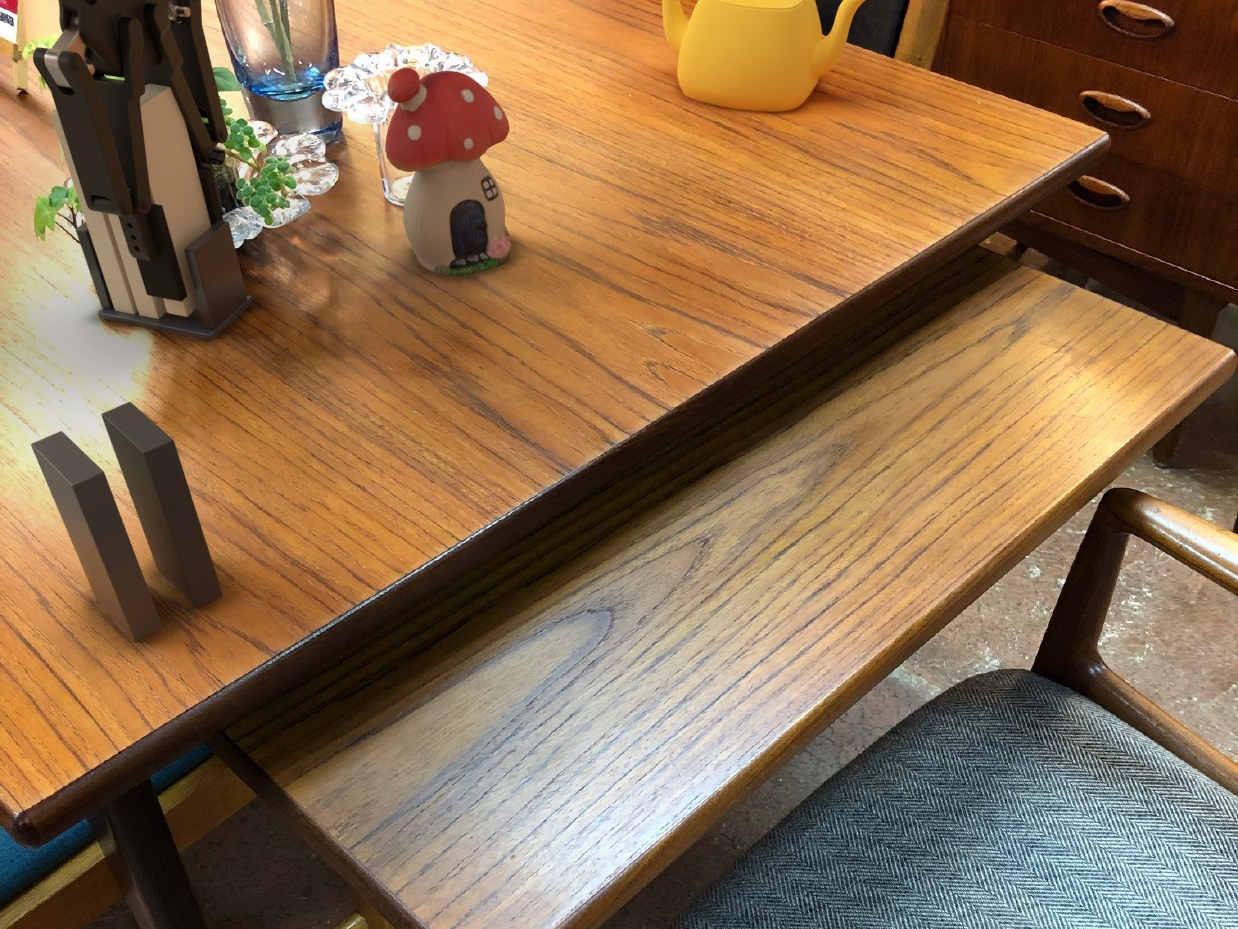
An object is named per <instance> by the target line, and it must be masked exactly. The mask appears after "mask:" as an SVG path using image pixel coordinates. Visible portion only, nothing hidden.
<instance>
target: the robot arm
mask: <svg viewBox="0 0 1238 929" xmlns="http://www.w3.org/2000/svg"><path fill="white" fill-rule="evenodd" d="M58 8H59V10H58V11H59V12H58V14H59V16H58V17H59V18H58V20H59V27H60V31H61V32H62V33H61V34H60V35H59V37H58V38H57V40H56V41H55V43H53V45H52V47H51V48H48V47H41V46H40V47H39V46H38V47H36V48H35V49H34V50H33V53H32V61H33V62H32V63H33V64H34V67H35V68H36V70H37V71H38V73H39V75H40V76H41V78H42V79H43V81H44V83H45V84H46V86H47V88H48V89H49V90H50V93H51V96H52V99H53V103H54V105H55V109H57V112H58V116H59V119H60V122H61V125H62V128H63V131H64V134H65V138H66V141H67V144H68V147H69V150H70V153H71V157H72V160H73V163H74V166H75V169H76V172H77V176H78V179H79V182H80V185H81V188H82V191H83V195H84V198H85V201H86V204H87V206H88V208H89V209H90V210H92V211H97V212H102V213H108V214H113V215H118V218H119V221H120V224H121V227H122V230H123V234H124V237H125V240H126V243H127V246H128V250H129V252H130V254H131V255H132V257H133V258H136V261H137V264H138V267H139V270H140V274H141V277H142V280H143V283H144V287H145V290H146V293H147V295H149V296H154V297H160V298H165V299H170V300H175V301H180V302H182V301H183V300H184V299H185V298H186V297H187V292H186V288H185V285H184V281H183V278H182V274H181V271H180V267H179V263H178V260H177V256H176V253H175V249H174V246H173V242H172V238H171V235H170V231H169V228H168V224H167V221H166V217H165V213H164V210H163V206H162V205H158V204H151V203H152V202H151V193H150V185H149V176H148V167H147V159H146V150H145V141H144V133H143V124H142V115H141V107H140V97H141V96H142V95H144V93H145V86H146V85H147V84H154V85H161V86H167V87H170V89H171V91H172V93H173V95H174V98H175V100H176V102H177V104H178V107H179V109H180V111H181V113H182V116H183V118H184V120H185V123H186V127H187V131H188V135H189V139H190V143H191V147H192V151H193V155H194V159H195V163H196V167H197V171H198V175H199V179H200V183H201V187H202V191H203V195H204V199H205V203H206V207H207V210H208V214H209V218H210V222H211V226H213V225H214V224H215V223H216V222H217V221H219V220H222V221H224V217H223V212H222V209H221V194H220V190H219V185H218V183H217V177H216V173H215V169H214V166H219V167H220V166H223V165H224V164H225V163H226V159H227V158H226V157H227V155H226V151H225V149H218V148H216V147H217V146H218V144H222V145H223V144H225V143H226V142H227V140H228V135H229V133H228V128H227V123H226V120H225V114H224V110H223V106H222V102H221V98H220V93H219V90H218V85H217V82H216V77H215V73H214V69H213V68H214V67H213V65H212V64H213V63H212V59H211V57H210V52H209V48H208V43H207V39H206V36H205V30H204V27H203V14H202V0H58ZM112 77H113V78H112ZM114 77H115V78H114ZM116 78H118V79H116ZM120 78H122V79H120ZM203 119H207V121H204V120H203ZM128 189H130V191H128Z"/></svg>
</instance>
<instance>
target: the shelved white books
mask: <svg viewBox="0 0 1238 929" xmlns="http://www.w3.org/2000/svg"><path fill="white" fill-rule="evenodd" d="M49 114H50V117H51V120H52V123H53V126H54V129H55V133H56V135H57V138H58V141H59V145H60V147H61V148H60V149H61V150H62V153H63V157H64V160H65V162H66V166H67V168H68V172H69V175H70V178H71V181H72V184H73V187H74V190H75V193H76V196H77V199H78V203H79V206H80V208H81V212H82V215H83V217H84V221H85V222H86V224H87V227H88V230H89V233H90V236H91V239H92V242H93V245H94V248H95V251H96V254H97V257H98V260H99V263H100V266H101V269H102V272H103V275H104V278H105V281H106V284H107V287H108V290H109V293H110V296H111V299H112V302H113V306H114V309H115V311H120V312H125V313H130V314H135V313H136V312H139V315H140V316H145V317H150V318H155V319H159V318H161V317H162V316H163V315H164V314H165V313H166V312H167V309H166V306H165V302H164V299H163V298H160V297H154V296H149V295H147V293H146V290H145V287H144V283H143V280H142V277H141V274H140V270H139V267H138V264H137V261H136V258H133V257H132V255H131V254H130V252H129V250H128V246H127V243H126V240H125V237H124V234H123V230H122V227H121V224H120V221H119V218H118V215H113V214H108V213H102V212H97V211H92V210H90V209H89V208H88V206H87V204H86V201H85V198H84V195H83V191H82V188H81V185H80V182H79V179H78V176H77V172H76V169H75V166H74V163H73V160H72V157H71V153H70V150H69V147H68V144H67V141H66V138H65V134H64V131H63V128H62V125H61V122H60V119H59V116H58V112H57V109H56V108H54V109H52V111H50V112H49ZM128 191H130V189H128Z"/></svg>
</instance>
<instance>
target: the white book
mask: <svg viewBox="0 0 1238 929" xmlns="http://www.w3.org/2000/svg"><path fill="white" fill-rule="evenodd" d="M140 107H141V115H142V124H143V133H144V141H145V150H146V159H147V167H148V176H149V185H150V193H151V202H152V203H151V204H158V205H162V206H163V210H164V213H165V217H166V221H167V224H168V228H169V231H170V235H171V238H172V242H173V246H174V249H175V253H176V256H177V260H178V263H179V267H180V271H181V274H182V278H183V281H184V285H185V288H186V292H187V297H186V298H185V299H184V300H183V301H182V302H180V301H175V300H170V299H165V298H163V299H164V302H165V306H166V309H167V312H168V313H170V314H175V315H180V316H186V317H188V316H189V315H190V314H191V313H192V312H193V311H194V310H195V309H196V308H198V307H199V303H198V300H197V296H196V292H195V289H194V285H193V281H192V278H191V274H190V270H189V267H188V263H187V259H186V256H185V252H184V249H185V248H186V247H187V246H188V245H190V244H191V243H192V242H193V241H195V240H196V239H197V238H198V237H199V236H201V235H202V234H203V233H204V232H205V231H207V230H208V229H209V228H210V227H211V222H210V218H209V214H208V210H207V207H206V203H205V199H204V195H203V191H202V187H201V183H200V179H199V175H198V171H197V167H196V163H195V159H194V155H193V151H192V147H191V143H190V139H189V135H188V131H187V127H186V123H185V120H184V118H183V116H182V113H181V111H180V109H179V107H178V104H177V102H176V100H175V98H174V95H173V93H172V91H171V89H170V87H167V86H161V85H154V84H147V85H146V86H145V93H144V95H142V96H141V97H140Z"/></svg>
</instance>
